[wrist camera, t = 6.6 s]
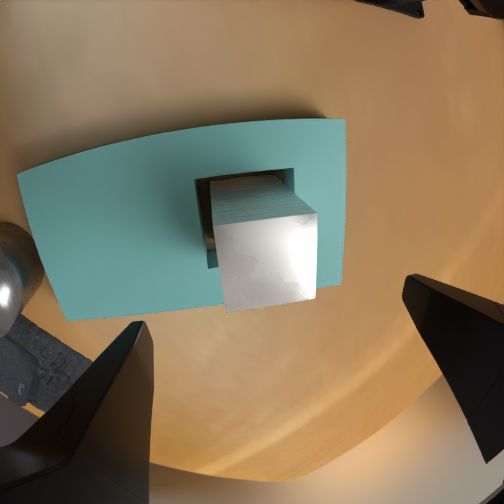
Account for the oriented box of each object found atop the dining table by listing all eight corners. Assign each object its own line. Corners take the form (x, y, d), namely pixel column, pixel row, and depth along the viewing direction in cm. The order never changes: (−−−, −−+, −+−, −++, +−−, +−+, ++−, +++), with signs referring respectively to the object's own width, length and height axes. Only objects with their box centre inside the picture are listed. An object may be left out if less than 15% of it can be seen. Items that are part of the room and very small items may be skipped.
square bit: (272, 174, 18) (317, 213, 11) (275, 231, 20) (315, 298, 13) (209, 181, 18) (213, 226, 11) (217, 239, 19) (226, 312, 12)
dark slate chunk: (98, 429, 29) (93, 458, 25) (-37, 345, 20) (-52, 368, 16) (143, 379, 25) (138, 418, 21) (-35, 260, 17) (-61, 285, 12)
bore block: (327, 118, 17) (345, 119, 15) (327, 267, 22) (340, 284, 20) (35, 166, 15) (16, 174, 13) (77, 301, 20) (67, 320, 18)
